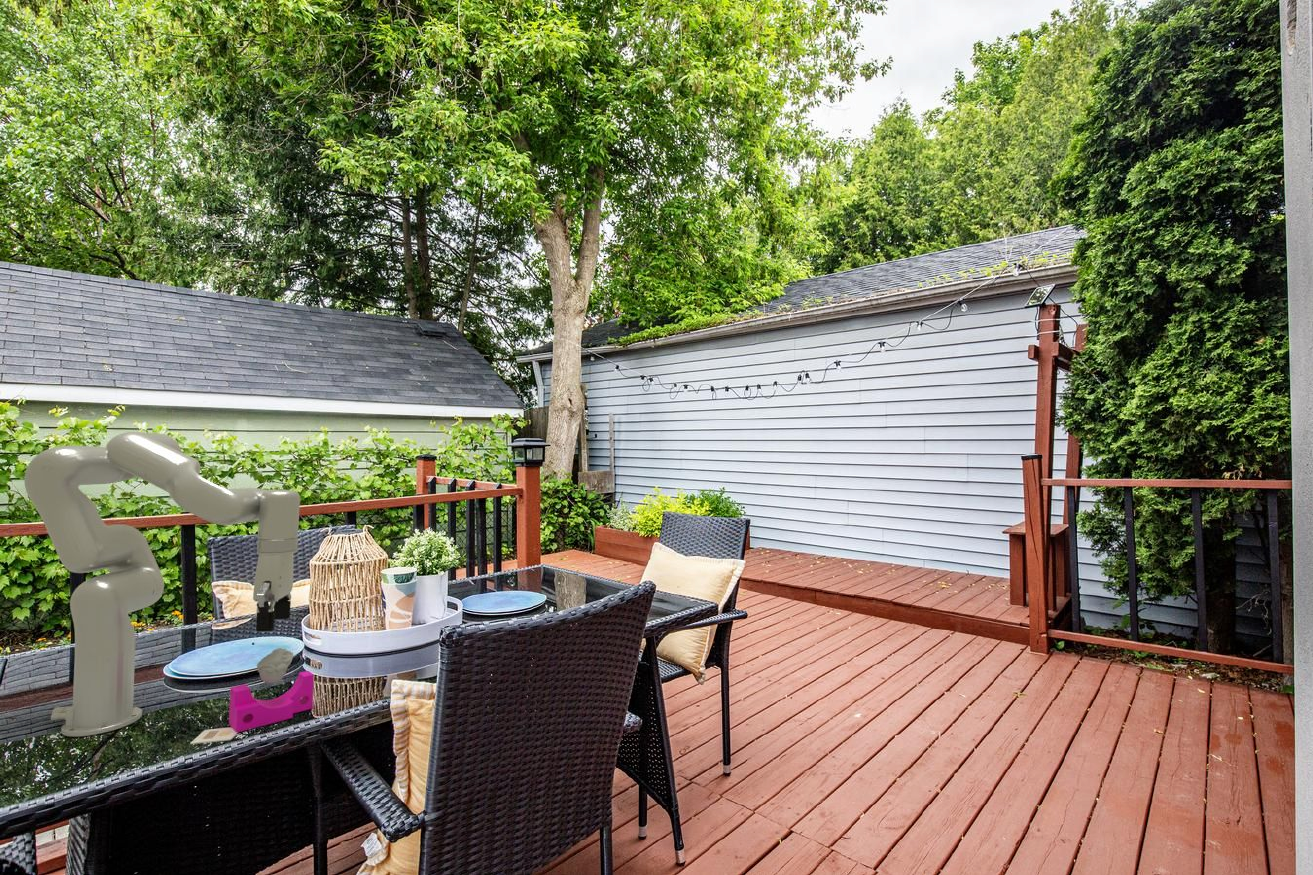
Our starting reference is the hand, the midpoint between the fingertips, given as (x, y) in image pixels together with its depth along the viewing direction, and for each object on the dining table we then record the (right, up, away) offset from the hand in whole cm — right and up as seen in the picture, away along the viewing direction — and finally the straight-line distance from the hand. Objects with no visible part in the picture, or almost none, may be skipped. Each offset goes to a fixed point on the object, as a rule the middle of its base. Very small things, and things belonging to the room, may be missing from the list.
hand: (273, 624), depth 131 cm
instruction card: (-6, -20, -9) cm, 22 cm away
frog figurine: (0, -13, 0) cm, 13 cm away
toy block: (+1, -20, -1) cm, 20 cm away
